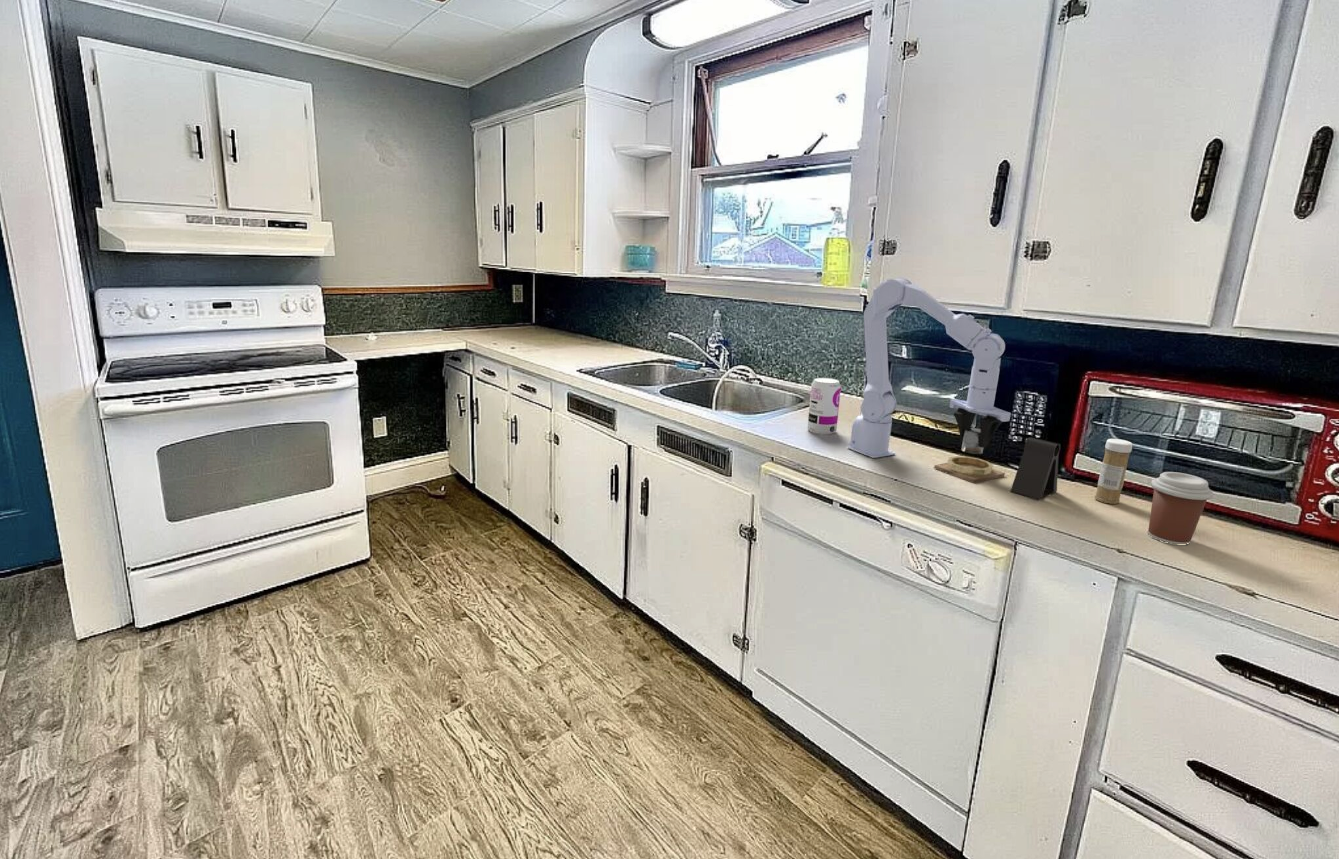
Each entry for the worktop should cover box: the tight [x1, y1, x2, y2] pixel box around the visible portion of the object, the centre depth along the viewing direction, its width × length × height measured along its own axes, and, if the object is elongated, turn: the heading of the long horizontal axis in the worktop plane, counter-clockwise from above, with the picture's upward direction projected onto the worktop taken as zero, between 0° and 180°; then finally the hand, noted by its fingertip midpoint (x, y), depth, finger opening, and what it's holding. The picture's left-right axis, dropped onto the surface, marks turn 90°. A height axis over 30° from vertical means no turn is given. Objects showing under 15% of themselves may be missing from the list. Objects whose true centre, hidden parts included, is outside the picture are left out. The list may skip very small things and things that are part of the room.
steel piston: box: [961, 427, 984, 455], centre depth 151 cm, size 5×5×5 cm
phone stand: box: [1009, 436, 1061, 501], centre depth 140 cm, size 9×6×12 cm, turn 127°
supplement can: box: [807, 377, 842, 436], centre depth 183 cm, size 8×8×15 cm
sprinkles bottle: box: [1094, 438, 1134, 505], centre depth 136 cm, size 5×5×13 cm
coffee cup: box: [1147, 471, 1214, 545], centre depth 119 cm, size 9×9×12 cm
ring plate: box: [933, 455, 1006, 484], centre depth 153 cm, size 11×11×2 cm
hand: (973, 443), depth 152 cm, fingers closed on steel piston, 5 cm apart
